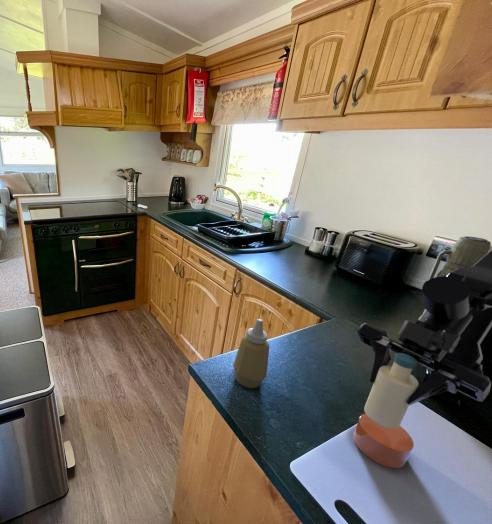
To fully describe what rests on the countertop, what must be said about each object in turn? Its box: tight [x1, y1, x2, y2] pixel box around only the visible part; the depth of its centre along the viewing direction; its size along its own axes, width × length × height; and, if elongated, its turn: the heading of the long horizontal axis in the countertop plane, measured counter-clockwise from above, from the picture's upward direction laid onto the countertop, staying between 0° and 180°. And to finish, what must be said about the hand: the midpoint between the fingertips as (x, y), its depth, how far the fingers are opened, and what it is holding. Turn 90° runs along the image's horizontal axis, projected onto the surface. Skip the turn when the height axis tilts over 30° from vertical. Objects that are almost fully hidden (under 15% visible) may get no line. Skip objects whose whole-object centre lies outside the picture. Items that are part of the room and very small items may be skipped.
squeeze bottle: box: [232, 318, 270, 389], centre depth 71 cm, size 8×8×18 cm
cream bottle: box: [363, 352, 420, 429], centre depth 54 cm, size 6×6×14 cm
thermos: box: [417, 235, 492, 320], centre depth 89 cm, size 9×12×35 cm
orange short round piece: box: [352, 412, 415, 469], centre depth 57 cm, size 8×8×4 cm
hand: (388, 392), depth 54 cm, fingers closed on cream bottle, 5 cm apart
